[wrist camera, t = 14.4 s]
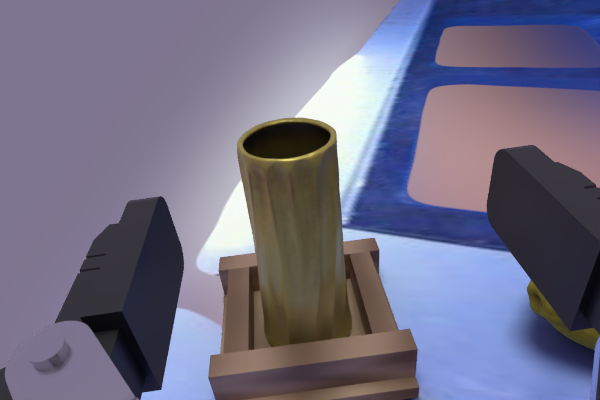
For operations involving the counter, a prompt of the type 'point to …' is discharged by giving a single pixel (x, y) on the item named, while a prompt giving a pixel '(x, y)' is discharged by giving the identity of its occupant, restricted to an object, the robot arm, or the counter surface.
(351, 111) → the counter surface
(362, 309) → the socket block
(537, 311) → the lemon
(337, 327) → the vase
